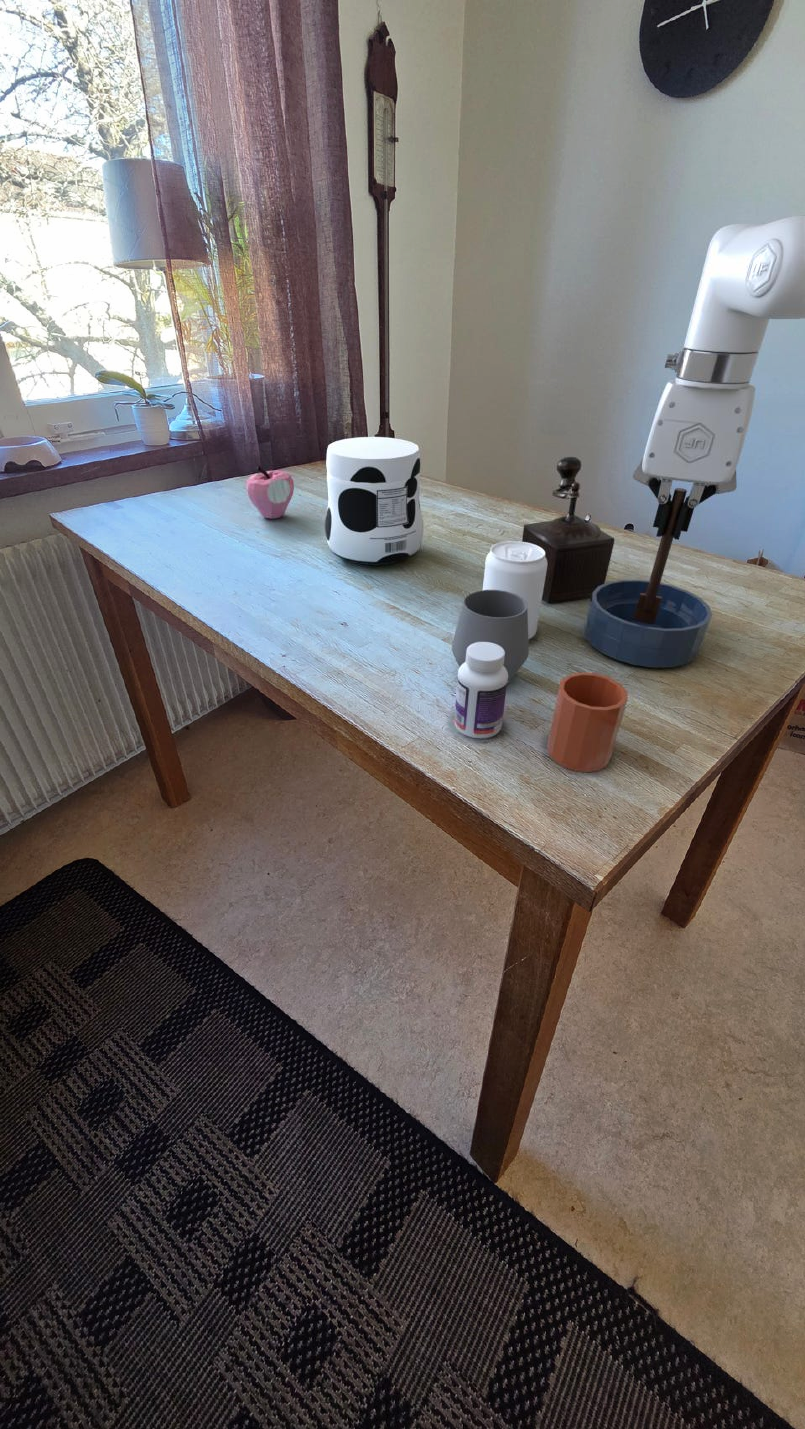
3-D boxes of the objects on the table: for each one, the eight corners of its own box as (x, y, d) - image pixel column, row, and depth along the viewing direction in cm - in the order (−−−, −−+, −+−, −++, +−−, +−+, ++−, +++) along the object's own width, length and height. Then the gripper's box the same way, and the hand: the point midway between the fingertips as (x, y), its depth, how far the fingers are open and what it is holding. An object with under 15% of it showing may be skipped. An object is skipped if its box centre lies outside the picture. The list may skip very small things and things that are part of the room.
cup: (517, 655, 81) (527, 586, 75) (530, 695, 73) (543, 622, 67) (447, 655, 80) (451, 586, 74) (453, 695, 73) (459, 621, 67)
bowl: (722, 659, 81) (738, 619, 77) (630, 680, 76) (642, 639, 72) (646, 610, 92) (657, 573, 88) (562, 626, 87) (569, 588, 84)
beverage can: (537, 622, 88) (550, 543, 81) (534, 649, 82) (548, 566, 75) (482, 615, 90) (490, 537, 83) (475, 642, 83) (483, 559, 76)
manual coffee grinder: (608, 595, 96) (635, 478, 85) (547, 605, 93) (568, 485, 82) (556, 559, 108) (575, 452, 97) (501, 566, 105) (514, 457, 94)
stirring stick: (654, 621, 84) (693, 489, 73) (653, 626, 83) (692, 492, 72) (633, 617, 85) (669, 486, 74) (632, 621, 84) (668, 489, 73)
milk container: (355, 530, 118) (352, 431, 107) (437, 545, 112) (442, 442, 101) (308, 561, 105) (298, 452, 95) (397, 580, 100) (398, 466, 89)
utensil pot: (623, 763, 63) (642, 701, 58) (569, 778, 61) (584, 715, 56) (586, 727, 68) (600, 667, 63) (534, 740, 66) (546, 679, 61)
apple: (259, 526, 119) (253, 474, 113) (243, 514, 125) (236, 463, 119) (303, 518, 123) (299, 467, 117) (286, 507, 129) (281, 457, 123)
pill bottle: (507, 718, 69) (518, 644, 63) (493, 745, 65) (503, 669, 60) (463, 706, 71) (469, 633, 65) (446, 731, 67) (452, 657, 61)
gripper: (636, 368, 65) (601, 534, 76) (798, 379, 60) (735, 555, 71) (644, 361, 71) (609, 517, 82) (792, 370, 66) (734, 534, 77)
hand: (668, 533), depth 77 cm, fingers closed on stirring stick, 1 cm apart
